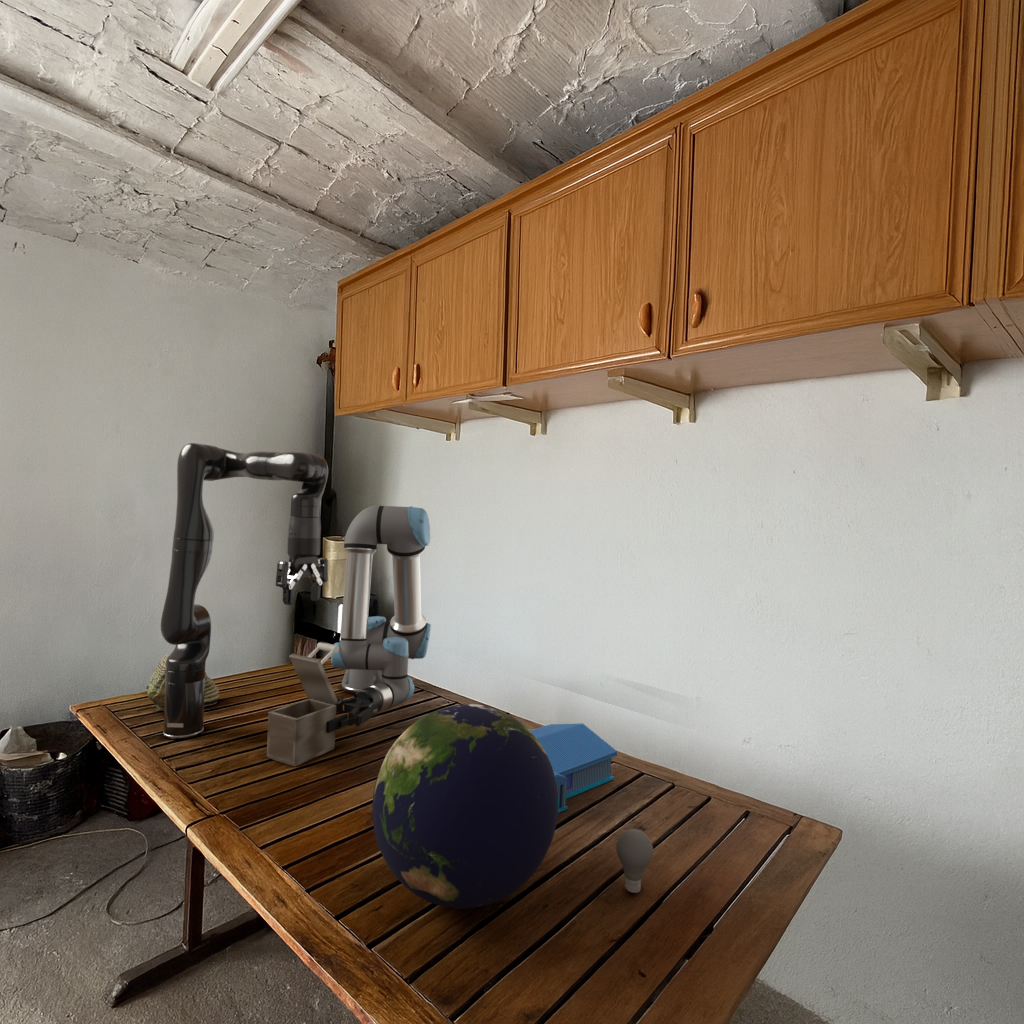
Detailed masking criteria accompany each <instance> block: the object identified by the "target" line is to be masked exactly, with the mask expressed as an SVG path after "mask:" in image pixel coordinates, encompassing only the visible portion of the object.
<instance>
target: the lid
mask: <svg viewBox="0 0 1024 1024" xmlns="http://www.w3.org/2000/svg"><path fill="white" fill-rule="evenodd" d="M319 651H325V652H328V653H327V654H326V655H325V656H324V657H323V658H322V659H319V658H316V657H314V656H315V655H316V654H317V653H318V652H319ZM338 651H339V647H338V646H336V645H334V644H332V643H331V644H330V643H326V642H321V641H320V642H318V643H316V647H315V649H313V650H312V651H311V652H310V653H309V654H308V655H307V656H306V655H300V654H297V653H296V654H295V653H291V654H290V655H289V656H288V658H289V660H290V662H291V664H292V666H293V668H294V671H295V673H296V675H297V677H298V679H299V681H300V683H301V686H302V689H303V690H304V692H305V695H306V696H307V697H306V698H307V699H313V700H317V701H324V702H328V703H332V704H336V703H337V702H338V700H337V696H336V693H335V691H334V689H333V686H332V684H331V682H330V680H329V677H328V675H327V673H326V671H325V668H324V666H323V665H324V664H325V663H326V662H327V661H328V660H329V659H330V658H331V655H332V654H333V653H337V652H338Z"/></svg>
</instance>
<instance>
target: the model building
mask: <svg viewBox="0 0 1024 1024" xmlns="http://www.w3.org/2000/svg"><path fill="white" fill-rule="evenodd" d="M529 730H530V732H531V733H532V734H533V735H534V736H535V737H536V738H537V739H538V741H539V742H540V743H541V745H542V747H543V748H544V750H545V752H546V753H547V756H548V758H549V761H550V763H551V765H552V768H553V772H554V775H555V779H556V784H557V791H558V814H559V813H562V812H563V811H566V810H568V809H569V806H567V800H568V799H570V798H572V797H575V796H577V795H580V794H582V793H585V792H587V791H589V790H591V789H594V788H597V787H599V786H601V785H603V784H606V783H609V782H610V781H613V780H615V776H614V775H612V758H614V757H617V756H618V751H617V750H616V749H615V748H614V747H612V746H611V745H610V744H609V743H608V742H607V741H605V740H604V739H603V738H602V737H600V736H599V734H597V733H595V732H594V731H593V730H592V729H590V727H588V726H587V725H586V724H584V723H583V722H581V723H550V724H548V725H547V724H546V725H544V726H543V725H542V726H540V727H537V728H533V729H529Z"/></svg>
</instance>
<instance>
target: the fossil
mask: <svg viewBox="0 0 1024 1024" xmlns="http://www.w3.org/2000/svg"><path fill="white" fill-rule="evenodd" d="M169 655H170V654H165V655H164V656H163V657H162V658H161V659H160V660H159V662H158V663H157V666H156V667H155V669H154V670H153V672H152V675H151V677H150V680H149V684H148V685H149V688H148V689H147V697H148V699H149V700H150V701H152V703H153V704H154V706H155V711H158V712H159V711H162V712H163V711H164V705H165V674H166V659H167V658H168V656H169ZM220 698H221V696H220V690H219V688H218V686H217V685H216V683H215V682H214V681H213V679H212V678H211V677H209V675H208V674H207V672H206V671H205V693H204V707H207V706H213V705H215V704H217V703H218V701H219V699H220Z"/></svg>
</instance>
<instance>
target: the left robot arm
mask: <svg viewBox="0 0 1024 1024" xmlns="http://www.w3.org/2000/svg"><path fill="white" fill-rule="evenodd" d="M176 467H177V468H176V487H177V488H176V493H177V495H176V510H175V511H176V512H175V522H174V530H173V537H172V538H173V539H172V545H171V546H172V547H171V560H170V568H169V577H168V583H167V591H166V595H165V599H164V603H163V608H162V613H161V618H160V633H161V635H162V638H163V639H164V641H165V642H167V643H168V644H170V645H173V646H175V647H174V648H173V650H172V652H171V653H170V654H168V655H169V656H168V658H167V659H166V674H165V705H164V710H163V731H162V737H164V738H166V739H169V740H185V739H190V738H191V739H192V738H194V737H197V736H199V735H202V734H203V732H204V730H205V729H204V722H205V721H204V718H205V706H204V693H205V672H206V664H207V663H206V662H207V658H208V656H209V653H210V647H211V639H212V637H211V636H212V617H211V614H210V613H209V611H208V609H207V608H206V607H205V606H203V605H200V604H196V603H195V599H196V594H197V589H198V587H199V585H200V582H201V580H202V578H203V577H204V575H205V573H206V571H207V569H208V566H209V564H210V562H211V559H212V556H213V555H212V553H213V548H214V537H215V536H214V535H215V534H214V533H215V532H214V527H213V524H212V522H211V519H210V517H209V514H208V513H207V510H206V507H205V505H204V500H203V490H204V489H203V487H204V481H206V482H214V481H219V480H225V479H232V478H249V479H254V480H263V481H264V480H265V481H286V482H287V481H288V482H297V483H298V482H299V483H301V486H300V489H299V491H297V492H294V493H292V494H291V496H290V500H289V501H290V503H289V518H288V525H287V526H288V527H287V548H286V549H287V551H286V552H287V555H288V558H289V559H288V561H284V560H277V563H276V577H275V586H276V587H279V588H281V589H282V602H283V604H284V605H287V606H292V605H293V601H294V589H293V588H294V586H295V585H296V583H297V582H299V581H300V579H304V578H307V579H309V581H310V583H311V584H312V585H310V600H311V601H312V602H318V601H319V600H320V598H321V590H322V589H321V588H322V585H323V584H324V583H327V582H328V580H329V575H328V574H329V573H328V572H329V566H328V565H329V562H328V561H329V560H328V558H325V557H318V556H320V554H321V536H322V534H321V533H322V523H321V511H322V510H321V507H322V505H321V504H322V498H323V495H324V492H325V488H326V485H327V481H328V477H329V467H328V462H327V461H326V459H325V458H324V457H323V456H322V455H320V454H316V453H311V452H310V453H309V452H302V451H301V452H300V451H287V452H280V451H251V452H237V451H232V450H228V449H224V448H221V447H218V446H216V445H211V444H204V443H198V442H196V443H195V442H190V443H189V442H188V443H187V444H185V445H183V447H182V448H181V449H180V452H179V453H178V457H177V466H176ZM148 688H149V684H148V685H147V686H146V688H145V689H146V690H148Z"/></svg>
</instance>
